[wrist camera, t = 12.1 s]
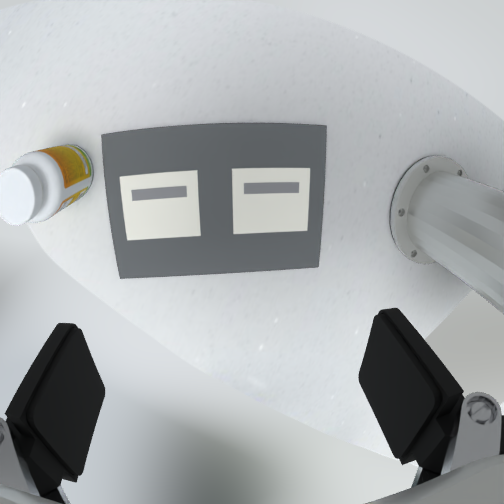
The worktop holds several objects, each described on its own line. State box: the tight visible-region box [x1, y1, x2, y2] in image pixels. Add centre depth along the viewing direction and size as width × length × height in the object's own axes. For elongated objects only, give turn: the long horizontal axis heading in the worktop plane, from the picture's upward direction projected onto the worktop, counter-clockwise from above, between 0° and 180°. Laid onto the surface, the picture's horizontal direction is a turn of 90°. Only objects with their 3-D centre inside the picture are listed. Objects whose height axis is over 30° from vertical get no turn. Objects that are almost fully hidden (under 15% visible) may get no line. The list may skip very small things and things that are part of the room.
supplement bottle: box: [0, 145, 93, 225], centre depth 19 cm, size 5×5×10 cm
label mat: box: [101, 123, 327, 279], centre depth 27 cm, size 20×14×1 cm
